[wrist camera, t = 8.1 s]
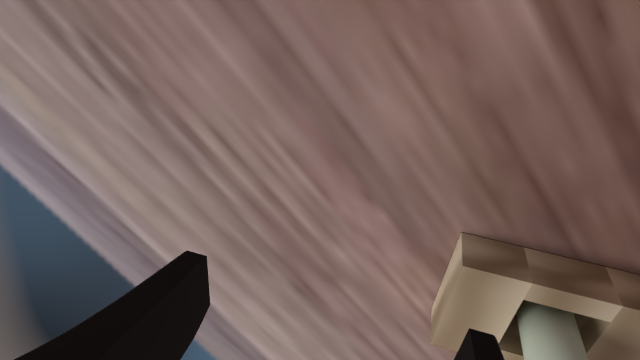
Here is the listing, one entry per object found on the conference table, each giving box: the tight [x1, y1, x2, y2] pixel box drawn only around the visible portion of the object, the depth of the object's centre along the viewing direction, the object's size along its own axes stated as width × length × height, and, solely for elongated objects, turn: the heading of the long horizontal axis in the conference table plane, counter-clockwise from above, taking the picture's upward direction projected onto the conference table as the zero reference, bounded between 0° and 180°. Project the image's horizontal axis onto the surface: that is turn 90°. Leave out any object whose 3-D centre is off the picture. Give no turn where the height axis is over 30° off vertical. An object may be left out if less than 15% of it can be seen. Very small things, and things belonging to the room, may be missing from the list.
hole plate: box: [430, 232, 640, 360], centre depth 21 cm, size 10×6×2 cm, turn 84°
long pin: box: [516, 300, 588, 360], centre depth 19 cm, size 3×3×8 cm
